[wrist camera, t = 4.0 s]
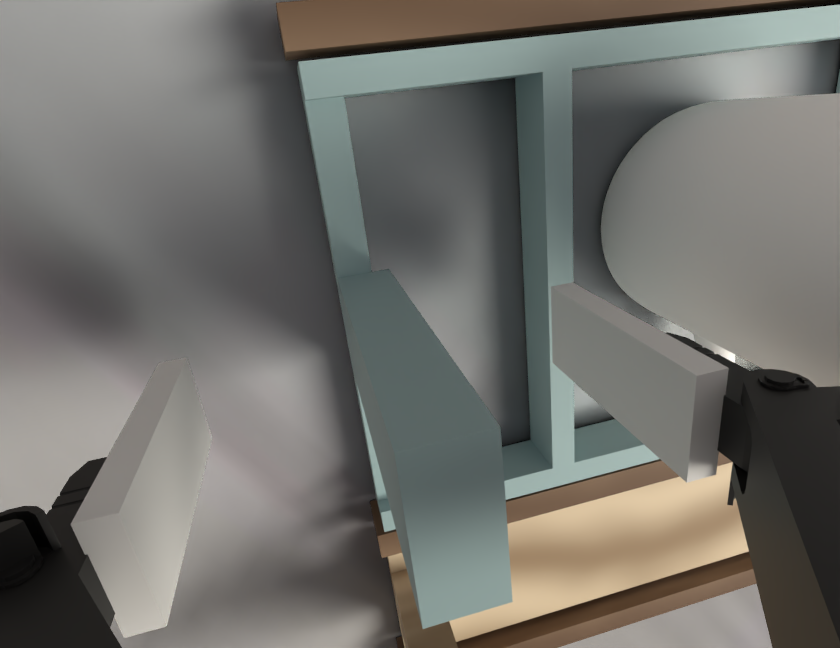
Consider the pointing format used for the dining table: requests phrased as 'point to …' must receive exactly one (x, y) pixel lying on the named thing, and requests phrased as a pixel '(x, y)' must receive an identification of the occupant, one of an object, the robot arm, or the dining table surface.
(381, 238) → the dining table surface
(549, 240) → the teal divided frame
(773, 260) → the mug
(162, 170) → the dining table surface
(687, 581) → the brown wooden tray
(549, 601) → the light wood drawer
